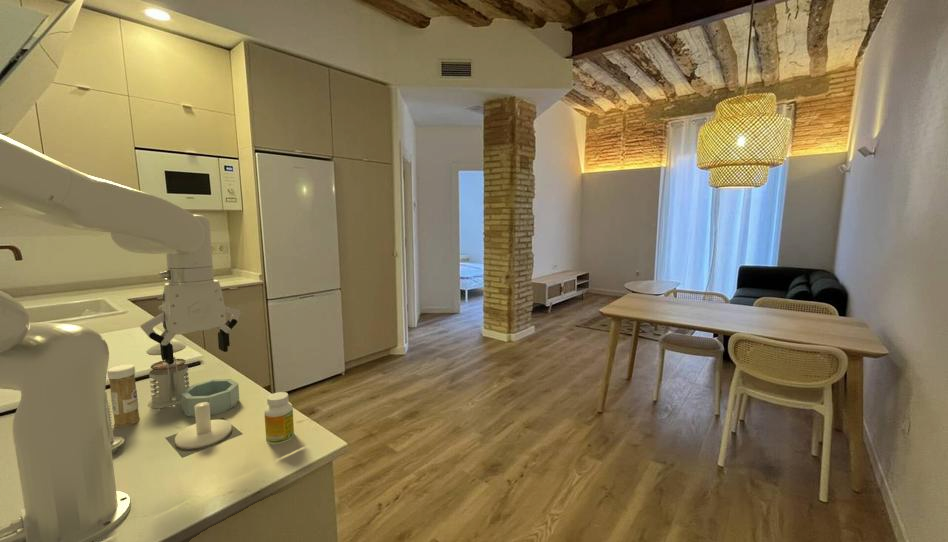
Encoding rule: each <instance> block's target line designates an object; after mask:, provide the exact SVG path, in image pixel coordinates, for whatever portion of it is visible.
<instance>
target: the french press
mask: <svg viewBox="0 0 948 542" xmlns="http://www.w3.org/2000/svg"><path fill="white" fill-rule="evenodd" d="M158 311H162V304H161V305H159V306H158ZM170 344H172V346H173V354H175V353H178V352H181V351H183V350H184V349H186V348H187V344H185V343H183V342H180V341H173V340H171V341H170ZM145 352H146V354H147V355H149V356H161V348H160V343H157V344H155V345H153V346H152V347H150V348H148V349H147V350H146V351H145ZM173 357H174V363H173V364H170V365H169V364H168V363H167V362H165V360H160V361H157V362H154V363H153V364H151V365H150V369H151V370H150V371H149V372H148V374H149V379H152V380H149V383H150V385H149V386H150V392H151V396H150V397H151V399H150V400H149V401H148V402H149V403H148V402H147V407H149V408H150V407H152V408H151V409H165V408H166V407H167V408H170V407H169V406H172V407H174V406H173V405H176V406H178V405H177V404H179V405H181V404H180V403H182V401H181V393H182V392H183V391H185V390H186V389H187V388H189V387H190V386H191V385H190V378H189V372H188V371H189V368H188V367H189V366H188V364H186V362H187V361H186V359H185V358H184V359H183V358H176V357H175V356H173ZM151 384H152V385H151ZM151 389H152V390H151ZM164 407H165V408H164Z"/></svg>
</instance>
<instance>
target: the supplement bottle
mask: <svg viewBox="0 0 948 542" xmlns="http://www.w3.org/2000/svg"><path fill="white" fill-rule="evenodd" d="M266 400H267V401H266V403H267V406H266V407H265V409H264V425H265V426H264V428H265V441H266V443H268V444H270V445H280V444H284V443H286V442H288V441H290V440H292V439H293V438H294V435H295V427H294V425H295V424H294V410H293V409H294V408H293V404H292V403H291V401H290V400H289V394H288V392H286V391H285V392H284V391H279V392H278V391H277V392H274V393H271V394H269V395H268V396H267V399H266Z"/></svg>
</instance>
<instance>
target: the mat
mask: <svg viewBox="0 0 948 542" xmlns="http://www.w3.org/2000/svg"><path fill="white" fill-rule="evenodd" d="M219 419H220V420H226V418H225V417H220V418H217V419H216V420H219ZM231 427H232V431H231V433H230V434H229V435H228V436H227V437H226V438H224V439H223V440H221V441H219V442H217V443H215V444H212V445H209V446H206V447H202V448H196V449H181V448H178V447H177V446H176V444H175V437H176V435H177V434H178V433H179V432H178V433H175V434H172V435H169V436H166V437H165V439H166V441H167V442H168V443H169V444H170V445H171V447H172V448H173V449H174V450H175V451H176V452H177V454H178V455H179V456H180V457H181V458H184V457H187V456H190V455H193V454H195V453H197V452H200V451H203V450H205V449H208V448H211V447H213V446H216V445H218V444H221V443H223V442H226V441H228V440H230V439H234V438H236V437H238V436H241V435H243V434H244V433H243V432H242V431H240V430H239V429H238V428H237V427H235V426H234V425H233V424H232V423H231Z"/></svg>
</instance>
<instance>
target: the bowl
mask: <svg viewBox="0 0 948 542" xmlns="http://www.w3.org/2000/svg"><path fill="white" fill-rule="evenodd" d="M189 386H190V387H189V388H187V389H186V390H185V391H183V392H182V393H181V401H182V404H181V407H182V408H181V410H182V411H183V412H184V414H185V415H186V416H187V417H190V418H195V408H194V406H195V405H196V404H199V403H202V402H208V403H209V406H210V417H211V416H216V415H219V414H221V413H224V412H227V411H229V410H231V409H232V408H234V407H235V406H236V405H237V404H238V401H239V400H240V388H239V386H240V385H239V382H237V381H236V380H234V379H232V378H222V379H220V378H219V379H210V380H207V381H202V382H199V383H195V384H192V385H189Z"/></svg>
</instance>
